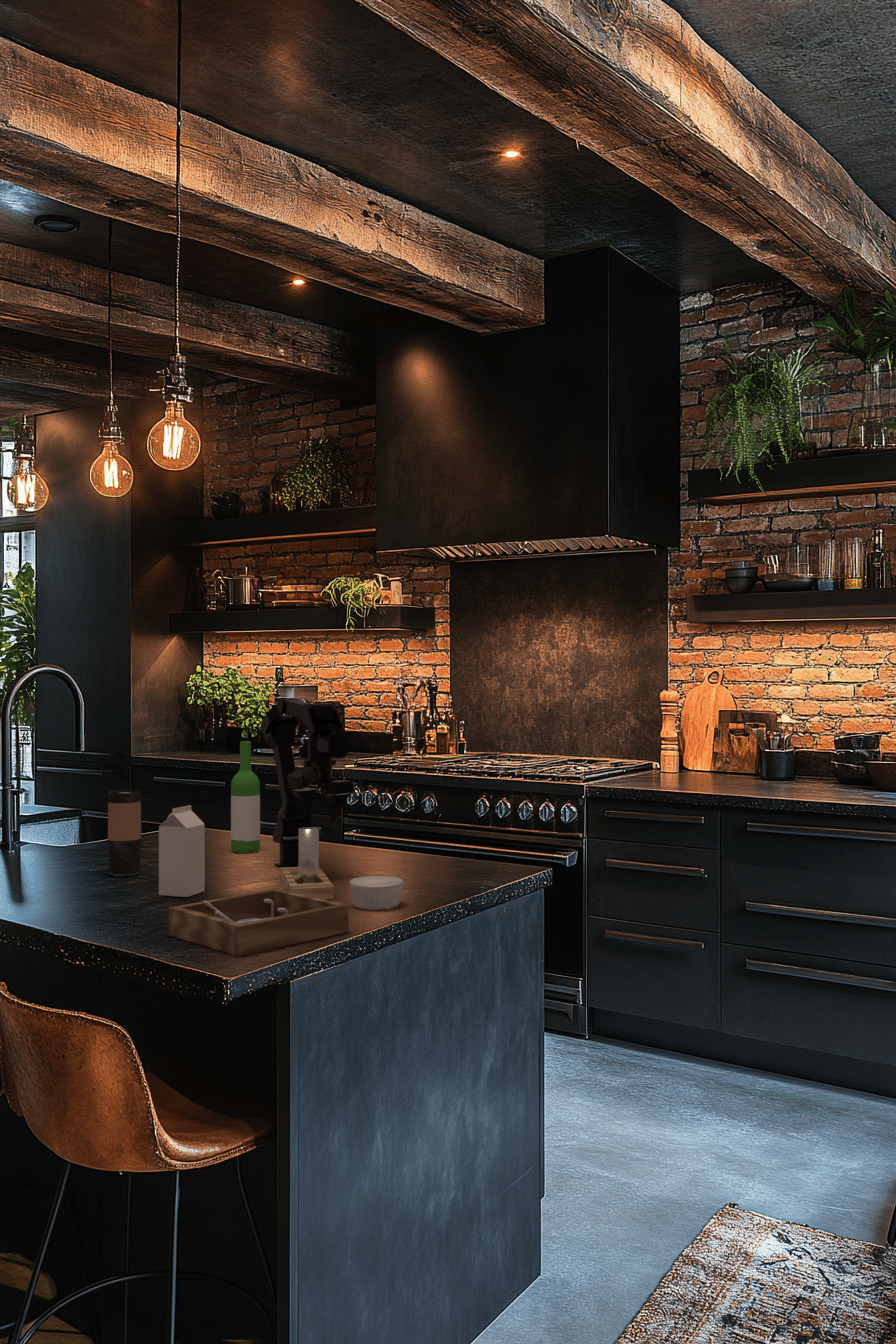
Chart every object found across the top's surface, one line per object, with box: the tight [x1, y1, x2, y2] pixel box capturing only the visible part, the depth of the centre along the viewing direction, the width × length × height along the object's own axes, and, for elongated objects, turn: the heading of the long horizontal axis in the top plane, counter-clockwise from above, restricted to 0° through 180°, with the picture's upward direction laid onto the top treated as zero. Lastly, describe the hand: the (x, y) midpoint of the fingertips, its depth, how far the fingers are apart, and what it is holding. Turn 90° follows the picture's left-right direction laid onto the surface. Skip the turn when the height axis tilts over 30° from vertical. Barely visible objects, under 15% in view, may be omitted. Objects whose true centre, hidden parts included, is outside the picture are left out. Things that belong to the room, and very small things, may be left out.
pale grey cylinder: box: [299, 826, 320, 884], centre depth 232 cm, size 4×4×14 cm
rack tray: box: [168, 888, 350, 957], centre depth 195 cm, size 22×24×5 cm
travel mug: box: [107, 789, 142, 874], centre depth 254 cm, size 8×8×20 cm
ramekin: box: [349, 875, 404, 911], centre depth 218 cm, size 11×11×5 cm
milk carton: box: [158, 805, 206, 898], centre depth 231 cm, size 7×7×19 cm
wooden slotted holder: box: [280, 866, 335, 900], centre depth 237 cm, size 26×9×2 cm, turn 14°
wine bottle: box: [230, 740, 261, 853], centre depth 288 cm, size 8×8×30 cm
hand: (320, 821), depth 251 cm, fingers open, 9 cm apart
